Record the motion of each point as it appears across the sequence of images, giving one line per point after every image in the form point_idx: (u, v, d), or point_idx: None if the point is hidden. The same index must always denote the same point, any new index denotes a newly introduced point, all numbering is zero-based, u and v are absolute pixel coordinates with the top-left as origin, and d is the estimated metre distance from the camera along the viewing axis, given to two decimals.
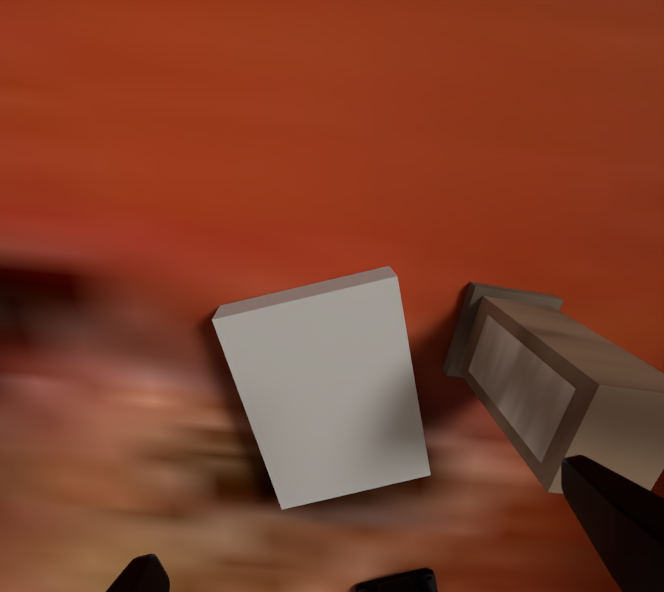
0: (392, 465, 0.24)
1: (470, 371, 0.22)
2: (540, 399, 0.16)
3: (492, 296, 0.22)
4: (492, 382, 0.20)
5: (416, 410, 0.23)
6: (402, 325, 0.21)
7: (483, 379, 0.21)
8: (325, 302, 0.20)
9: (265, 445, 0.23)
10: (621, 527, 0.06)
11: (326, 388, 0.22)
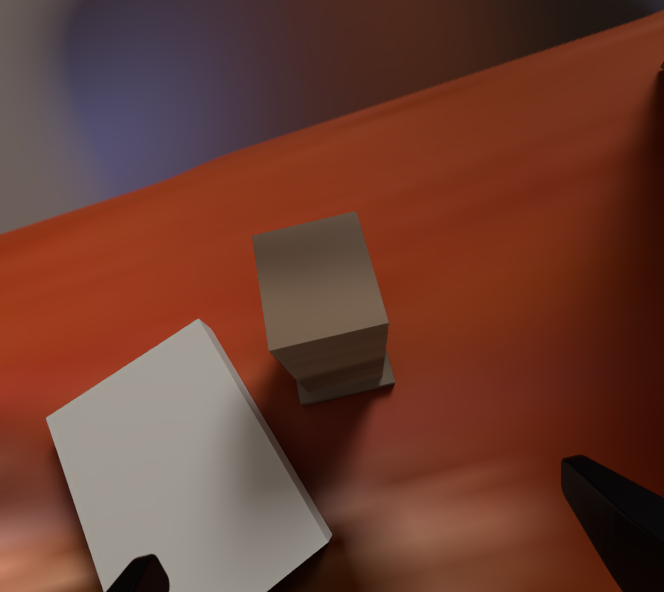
0: (270, 542, 0.18)
1: None
2: None
3: None
4: None
5: (267, 445, 0.20)
6: (217, 357, 0.22)
7: None
8: (143, 363, 0.22)
9: (104, 565, 0.18)
10: (621, 527, 0.06)
11: (161, 453, 0.20)
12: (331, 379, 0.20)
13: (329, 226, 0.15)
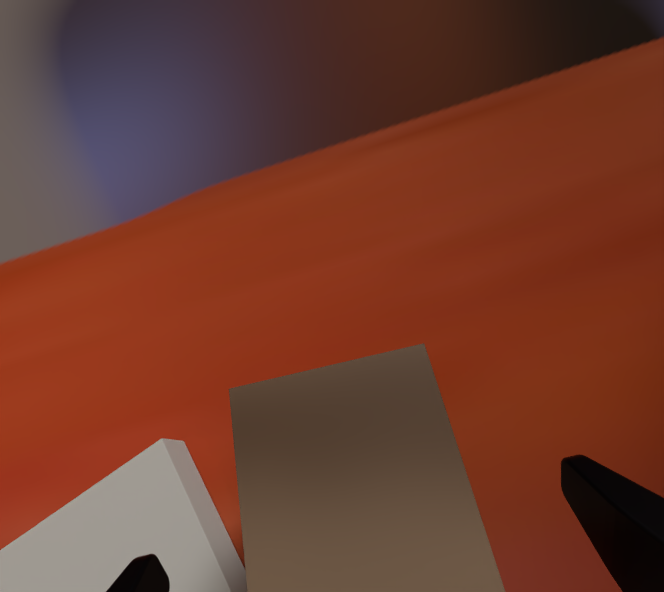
0: None
1: None
2: None
3: None
4: None
5: None
6: (187, 505, 0.15)
7: None
8: (78, 511, 0.15)
9: None
10: (621, 527, 0.06)
11: None
12: None
13: (374, 375, 0.08)
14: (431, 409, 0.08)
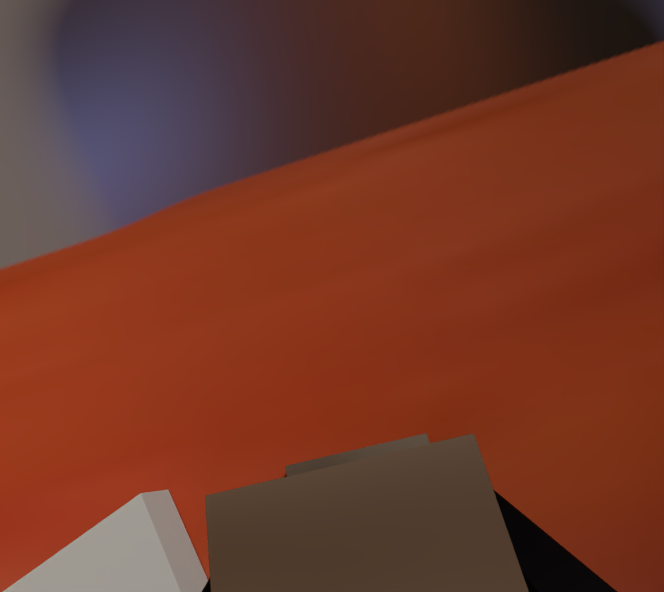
0: None
1: None
2: None
3: None
4: None
5: None
6: (168, 577, 0.12)
7: None
8: (41, 582, 0.13)
9: None
10: None
11: None
12: None
13: (406, 481, 0.06)
14: (489, 536, 0.05)
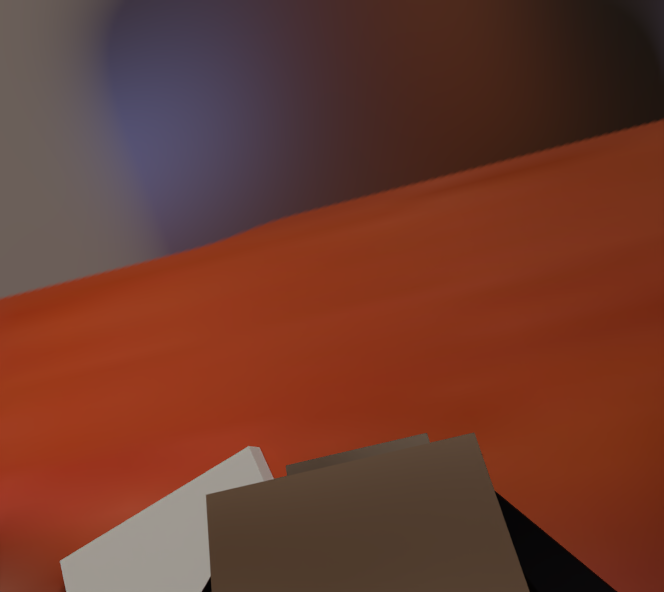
0: None
1: None
2: None
3: None
4: None
5: None
6: None
7: None
8: (180, 500, 0.18)
9: None
10: None
11: None
12: None
13: (407, 480, 0.06)
14: (489, 535, 0.05)
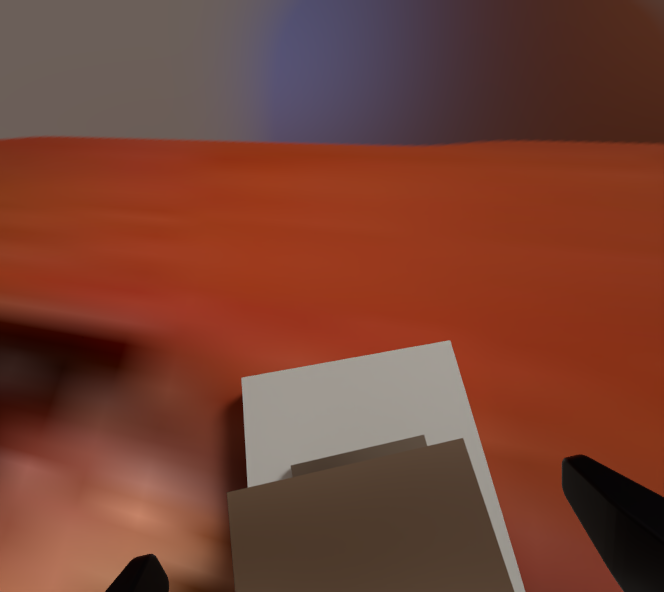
0: None
1: None
2: None
3: (320, 470, 0.15)
4: None
5: (510, 561, 0.14)
6: (465, 403, 0.17)
7: None
8: (368, 366, 0.18)
9: None
10: (622, 527, 0.06)
11: None
12: None
13: (404, 479, 0.07)
14: (475, 527, 0.06)
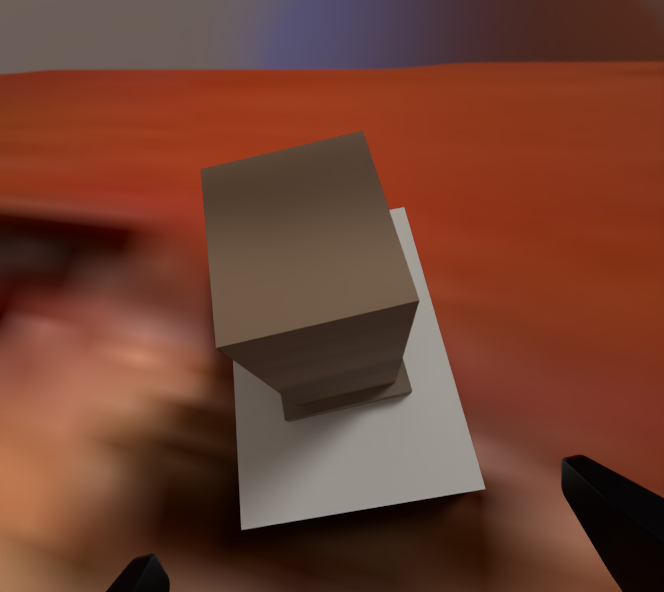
0: (418, 457, 0.16)
1: None
2: None
3: None
4: None
5: (444, 360, 0.17)
6: (413, 252, 0.20)
7: None
8: None
9: (243, 396, 0.18)
10: (621, 527, 0.06)
11: None
12: (326, 388, 0.14)
13: (320, 154, 0.10)
14: (365, 172, 0.09)
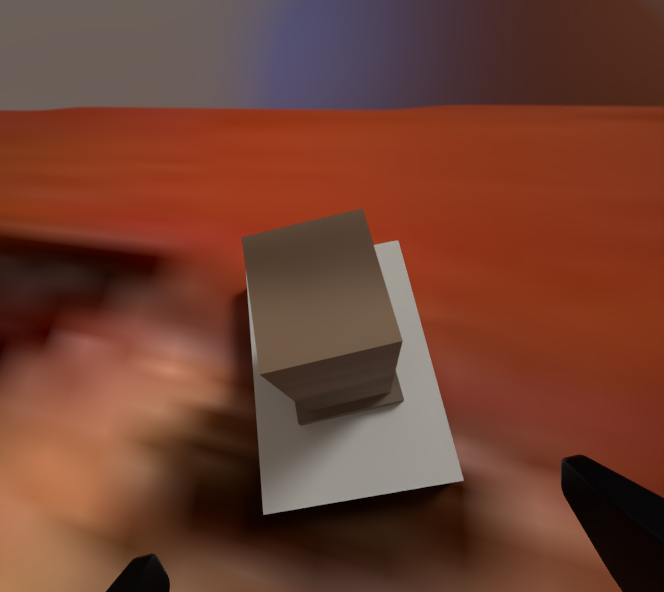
0: (409, 455, 0.19)
1: None
2: None
3: None
4: None
5: (431, 374, 0.21)
6: (406, 280, 0.23)
7: None
8: None
9: (262, 404, 0.21)
10: (621, 527, 0.06)
11: None
12: (333, 398, 0.18)
13: (331, 226, 0.13)
14: (364, 242, 0.13)
